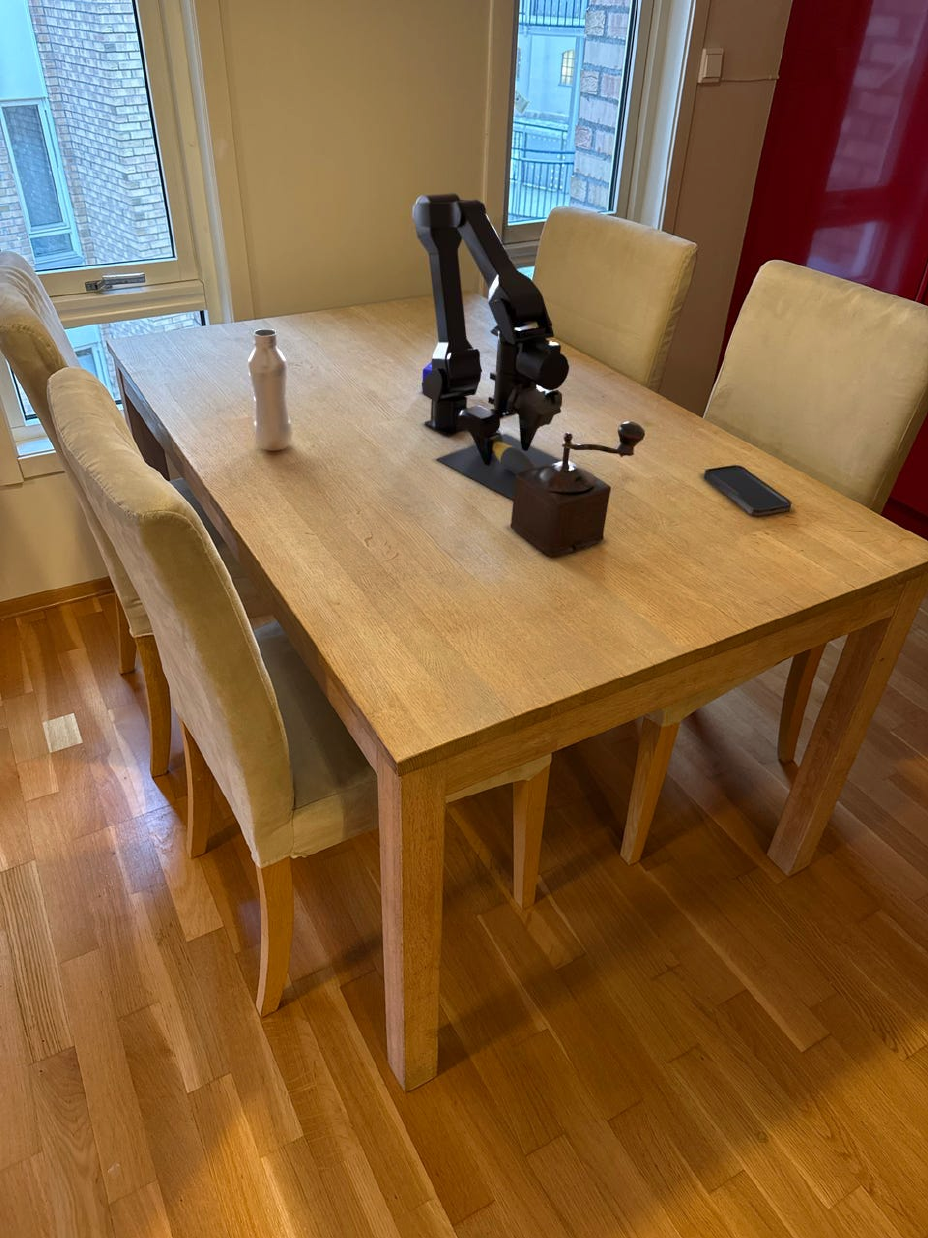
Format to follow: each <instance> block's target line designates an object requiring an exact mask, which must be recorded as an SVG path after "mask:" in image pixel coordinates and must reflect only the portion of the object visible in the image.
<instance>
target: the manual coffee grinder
mask: <svg viewBox="0 0 928 1238" xmlns="http://www.w3.org/2000/svg"><path fill="white" fill-rule="evenodd" d="M616 433H617V435H618V438H619V442H618V444H617V445H616V446H615V447H610V446H606V445H602V444H596V443H595V444H594V443H572V440H573V437H574V436H573V433H571V432H565V433H564V434H563V441H562V444H561V447H563V452H562V460H561V461H562V462H558V463H555V464H551V465H547V466H543V467H539V468H535V469H531V470H527V471H524V472H520V473H516V476H515V488H514V497H513V501H512V510H511V518H510V519H511V521H510V529H511V530H513V531H514V532H515V533H516V534H517V535H518V536H519V537H521V538H522V539H523V540H525V541H526V542H527V543H528V544H530V545H531V546H533V547H534V548H535V549H537V550H538V551H539V552H540V553H541V554H543V555H544V556H546V557H548V558H550V559H554V558H556V557H561V556H563V555H567V554H572V553H574V552H578V551H581V550H584V549H586V548H588V547H591V546H593V545H596V544H598V543H599V542H602V541H603V540H604V539H605V538H604V537H605V536H604V532H605V526H606V520H607V514H608V507H609V501H610V495H611V491H612V488H611V485H609V484H608V483H607V482H606V481H604V480H602V479H601V478H599V477H597V476H595V475H594V474H593V473H591V472H589V471H587V470H586V469H584V468H582V467H581V466H580V465H578V464H576V463H574V462H572V461H570V460H569V459H570V453H571V450H574V451H600V452H604V453H606V454H607V453H608V454H614V455H618V456H620V457H621V458H623V457H626V456H628V457H632V456H634V455H635V452H634V451H635V447H636V446H637V445H638V444H639V443H641V442H642V441H643V440H644V438H645V436H646V432H645V429H644V428H643V427H642V426H641V424H639V423H638V422H634V421H631V420H630V421H625V422H622V423H620V425H619V426H618V427H617V432H616Z"/></svg>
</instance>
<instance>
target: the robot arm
mask: <svg viewBox="0 0 928 1238" xmlns="http://www.w3.org/2000/svg"><path fill="white" fill-rule="evenodd" d="M411 212H412V214H411V215H412V220H413V223H414V226H415V233H416V237H417V239H418V240H419V242H420V243H421V245H422V246H423V248H424V249H425V251H426V252H427V254H428V259H429V268H430V278H431V286H432V295H433V301H434V302H433V303H434V312H435V322H436V331H437V344H436V347H435V349H434V351H433V354H432V357H431V362H432V372H431V373H430V374H429V375H428V376H427V378H426V379H425V380H424V381H423V382H421V390H422V389H423V393H422V394H423V395H424V396H425V397H427V398H428V399H429V400H430V403H431V404H430V419H429V420H426V421H424V426H426V427H427V428H430V429H432V430H434V432H435V431H436V432H437V433H439V434H442V435H443V436H445V437H449V436H453V435H454V434H458V433H460V432H463V431H467V432H469V434H470V436H471V437H472V440H473V439H474V441H475V443H476V445H477V448H478V450H479V453H480V455H481V457H482V460H483V462H484V464H485V465H487V466H489V465H490V463H491V459H492V451H493V442H494V439H495V438H496V437H497V436H498V435H499V434H500V433H499V432H497V431H498V430H499V429H500V428H501V421H502V420H504V419H507V418H510V417H513V416H516V415H518V426H519V438H520V440H519V441H521V446H522V450H524V451H528V449H529V447H530V446H531V444H532V443H533V440H534V438H535V436H536V434H537V431H538V430H539V429H540V428H541V427H544V426H549V425H551V423H552V421H553V419H554V417H555V415H558V414H561V412H562V409H561V408H562V406H563V393H562V392H561V391H560V390H559V389H558V388H560V387H561V386H562V385H563V384H564V383H565V381H566V380H567V378H568V375H569V373H570V372H569V371H570V365H569V361H568V359H567V357H566V355H564V354H563V353H562V352H561V351H562V345H561V344H559V343H557V342H552V341H551V340H549V339H552V338H554V337H555V333H554V330H553V323H552V321H551V318H550V315H549V313H548V309H547V305H546V302H545V298H544V296H543V294H542V292H541V291H540V289H539V288H538V286H537V285H536V284H535V283H534V281H533V279H532V278H530V277H529V276H527V275H525V274H524V273H522V272H521V271H519V270H518V269H517V268H516V266H515V264H514V263H513V261H512V259H511V257H510V256H509V254H508V252H507V250H506V248H505V246H504V245H503V242H502V241H501V239H500V237H499V235H498V234H497V232H496V230H495V228H494V226H493V224H492V222H491V221H490V219H489V217H488V215H487V207H486V206H485V203H484V202H483V201H481V200H478V199H461V198H460V197H459V195H458V194H456V193H455V192H447V193H435V194H423V195H422V194H421V195H420V196H418V198H417V199H416V202H415V203H414V205H413V206H412V211H411ZM462 242H464V244H465V246H466V248H467V250H468V251H469V253H470V255H471V257H472V259H473V261H474V263H475V264H476V266H477V268H478V270H479V272H480V273H481V275H482V277H483V279H484V282H485V284H486V286H487V288H488V297H487V298H488V299H487V303H488V306H489V310H490V312H491V314H492V317H493V319H494V321H495V324H496V325H495V326H493V328H491V329H490V333H491V334H492V335H493V336H495V337H497V347H496V361H495V371H491V372H489V379H490V380H492V381H494V390H493V395H490V396H488V398H487V399H488V400H487V403H488V404H490V405H493V408H492V409H487V408H485V407H483V406H481V405H478V404H476V405H474V406H471V407H468V397H470V396H475V395H476V394H477V390H478V388H479V384H480V382H481V379H482V373H483V369H482V365H481V353H480V350H479V349H478V348H477V347H476V348H474V347H473V345H472V343H470V341H469V340H468V337H467V327H466V318H465V309H464V308H465V307H464V299H463V298H464V297H463V287H462V280H461V269H460V260H459V258H460V257H459V248H460V246H461V243H462ZM535 325H537V326H536V327H532V326H535ZM530 326H531V327H530ZM524 327H530V328H525V329H520V328H524Z"/></svg>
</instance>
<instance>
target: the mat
mask: <svg viewBox="0 0 928 1238" xmlns="http://www.w3.org/2000/svg"><path fill="white" fill-rule="evenodd" d="M501 435H502V443H505V444H508V445H510V446H513V447H515V448H517V449H518V450H520V451H521V452H522V453H523V454H525V455H526V456H527V457H528V458H529V459H530V460H531V461H532V462H533V463H534V465H535V466H536V467H537V468H539V467H543V466H547V465H551V464H555V463H558V462H562V460H561V459H559V458H556V457H554V456H552V455H550V454H548V453H546V452H545V451H542V450H540V449H538V448H535V447H533V446H531V445H530V447H529V449H528V451H524V450H522V446H521V440H519V439H516V438H514V437H512V436H511V435H508V434H506V433H504V434H501ZM435 460H436V461H437V462H438V463H441V464H443V465H445V466H446V467H448V468H450V469H452V470H454V471H456V472H458V473H460V474H462V475H464V476H465V477H467V478H469V479H471V480H473V481H474V482H476V483H478V484H480V485H482V486H483V487H486V488H487V489H489V490H491V491H493V492H495V493H497V494H498V495H501V496H503V497H505V498H507V499H508V500H510V501H512V502H513V497H514V488H515V476H516V475H515V474H514V473H512V472H511V471H509V470H508V469H507V468H505V467H504V466H503V465H502V464H501V463H500V461H499V460H498V458H497V457H496V455H495V454H494V453H493V454H492V459H491V463H490V465H489V466H487V465H485V464H484V462H483V460H482V457H481V455H480V453H479V451H478V450H477V449H476V448H475V446H474V445H471V446H468V447H465V448H462V449H460V450H457V451H454V452H452V453H449V454H446V455H443V456H441V457H438V458H435Z"/></svg>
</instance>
